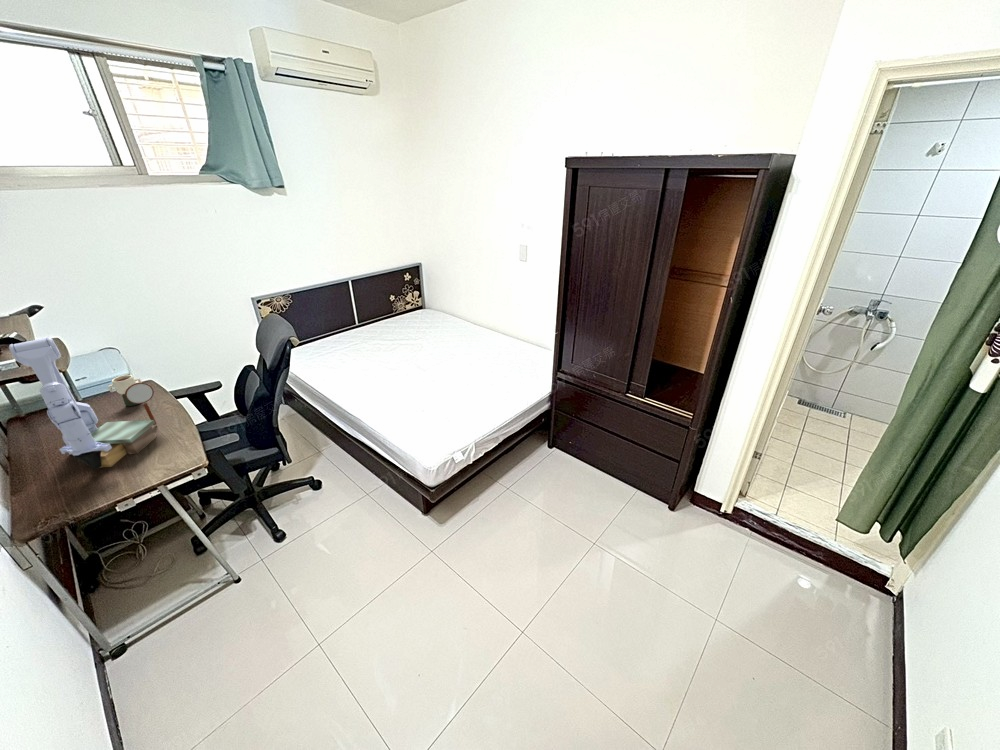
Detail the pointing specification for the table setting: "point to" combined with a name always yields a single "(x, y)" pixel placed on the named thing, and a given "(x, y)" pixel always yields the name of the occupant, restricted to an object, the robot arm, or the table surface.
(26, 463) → the table surface
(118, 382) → the character mug
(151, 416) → the magnifying glass
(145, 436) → the socket shed
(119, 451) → the peg
